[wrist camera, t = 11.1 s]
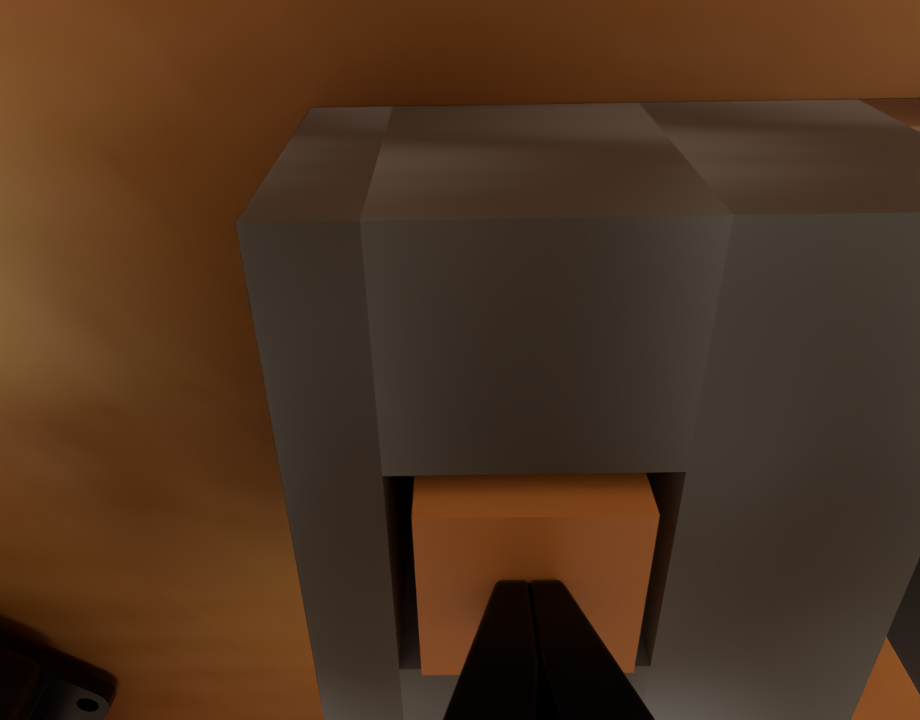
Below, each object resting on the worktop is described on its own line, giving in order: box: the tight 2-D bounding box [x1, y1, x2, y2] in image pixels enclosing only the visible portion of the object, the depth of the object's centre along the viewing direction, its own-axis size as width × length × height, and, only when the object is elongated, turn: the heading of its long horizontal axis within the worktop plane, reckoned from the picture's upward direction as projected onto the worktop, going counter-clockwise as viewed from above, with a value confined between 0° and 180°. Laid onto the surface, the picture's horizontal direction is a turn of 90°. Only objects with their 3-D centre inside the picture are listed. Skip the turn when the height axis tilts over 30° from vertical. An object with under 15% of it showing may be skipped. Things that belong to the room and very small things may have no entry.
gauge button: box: [412, 473, 660, 675], centre depth 11 cm, size 3×3×4 cm
